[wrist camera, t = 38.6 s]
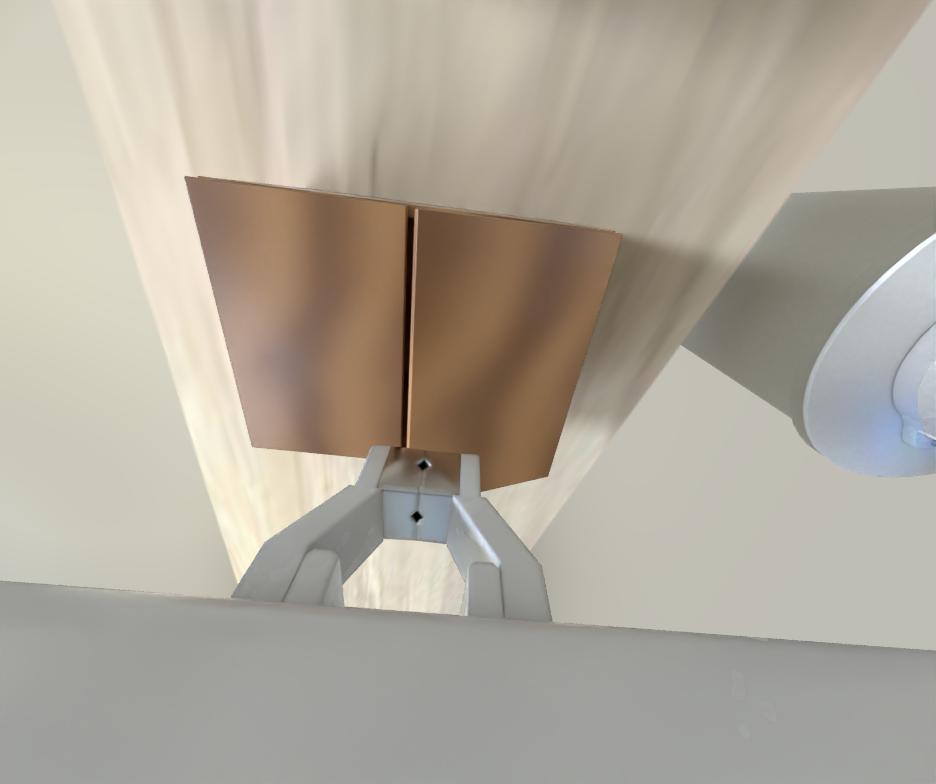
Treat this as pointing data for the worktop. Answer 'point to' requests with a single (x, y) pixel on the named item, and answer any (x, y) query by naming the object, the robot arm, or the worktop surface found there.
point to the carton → (315, 309)
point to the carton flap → (500, 336)
